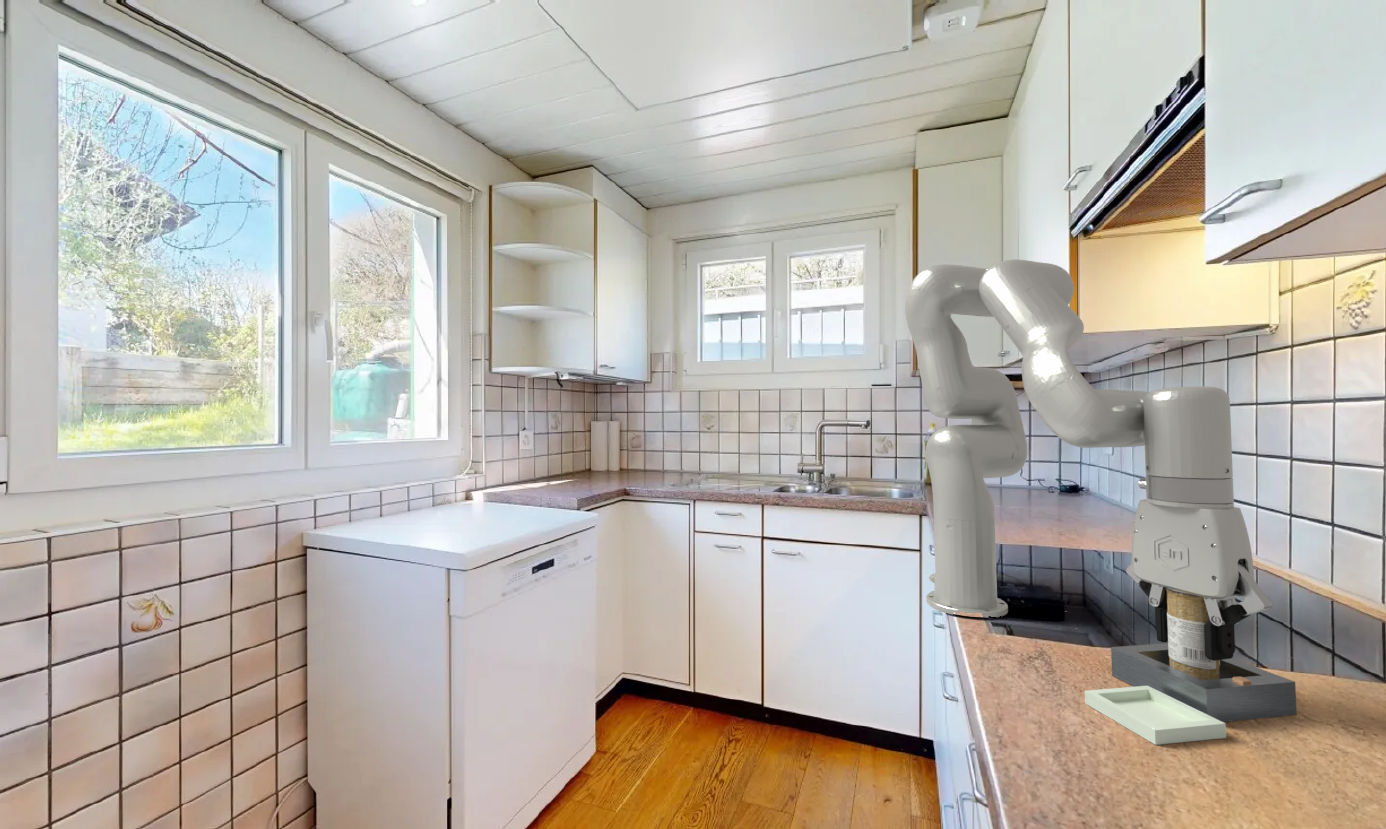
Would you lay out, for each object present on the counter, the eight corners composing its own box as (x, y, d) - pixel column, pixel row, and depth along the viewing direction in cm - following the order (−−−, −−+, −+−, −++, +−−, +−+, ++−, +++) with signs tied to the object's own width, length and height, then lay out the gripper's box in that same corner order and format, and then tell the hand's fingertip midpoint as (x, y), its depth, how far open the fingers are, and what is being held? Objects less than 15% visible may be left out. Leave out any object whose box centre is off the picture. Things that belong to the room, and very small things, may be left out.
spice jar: (1224, 690, 62) (1220, 573, 62) (1218, 704, 59) (1213, 581, 59) (1172, 676, 65) (1168, 566, 66) (1163, 688, 62) (1159, 572, 63)
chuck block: (1112, 675, 66) (1110, 644, 67) (1188, 669, 68) (1187, 639, 68) (1207, 723, 56) (1206, 686, 56) (1296, 715, 57) (1295, 679, 57)
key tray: (1085, 703, 60) (1084, 690, 60) (1147, 698, 61) (1147, 685, 61) (1155, 744, 52) (1154, 730, 52) (1226, 737, 53) (1225, 723, 53)
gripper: (1093, 485, 70) (1098, 626, 69) (1253, 503, 53) (1260, 687, 53) (1139, 484, 72) (1143, 621, 71) (1307, 500, 55) (1315, 678, 55)
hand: (1193, 647), depth 62 cm, fingers closed on spice jar, 4 cm apart
